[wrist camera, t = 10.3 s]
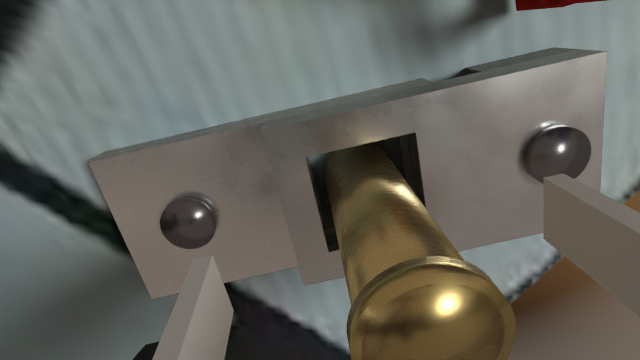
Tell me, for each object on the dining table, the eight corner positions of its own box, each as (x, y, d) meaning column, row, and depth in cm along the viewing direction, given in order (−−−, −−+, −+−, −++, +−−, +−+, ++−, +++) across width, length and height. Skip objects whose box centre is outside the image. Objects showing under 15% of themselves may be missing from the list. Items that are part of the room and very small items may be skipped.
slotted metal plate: (162, 279, 26) (135, 329, 21) (105, 151, 22) (60, 180, 18) (553, 192, 25) (606, 225, 21) (553, 47, 22) (617, 51, 18)
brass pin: (327, 212, 25) (366, 418, 12) (311, 143, 23) (335, 295, 10) (399, 195, 25) (518, 385, 12) (388, 125, 23) (513, 256, 10)
